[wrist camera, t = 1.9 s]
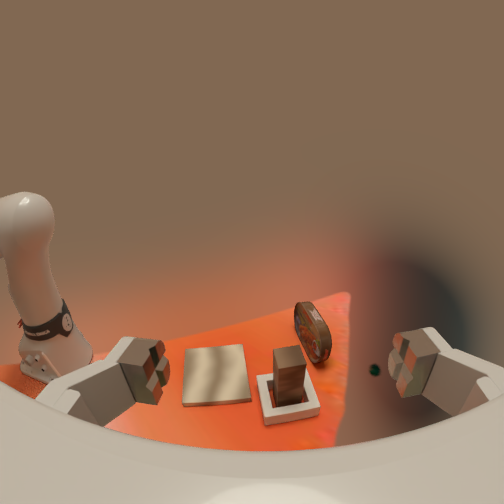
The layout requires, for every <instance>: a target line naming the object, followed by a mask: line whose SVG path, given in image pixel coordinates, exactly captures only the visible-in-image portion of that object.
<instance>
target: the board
mask: <svg viewBox="0 0 504 504" xmlns="http://www.w3.org/2000/svg"><path fill="white" fill-rule="evenodd" d="M250 401H251V395H250V388H249V382H248V376H247V370H246V363H245V357H244V351H243V344H238V345H228V346H218V347H207V348H194V349H185V363H184V378H183V395H182V404H183V406H206V405H220V404H232V403H241V402H250Z"/></svg>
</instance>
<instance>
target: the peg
mask: <svg viewBox="0 0 504 504" xmlns="http://www.w3.org/2000/svg"><path fill="white" fill-rule="evenodd" d="M305 372H306V361H305V358H304V356H303V353H302V351H301V348H300V345H296V346H290V347H284V348H277V349H273V396H274V400H275V404H276V408H278V407H284V406H289V405H295V404H300V403H301V400H302V393H303V386H304V379H305Z"/></svg>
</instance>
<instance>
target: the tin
mask: <svg viewBox="0 0 504 504" xmlns="http://www.w3.org/2000/svg"><path fill="white" fill-rule="evenodd" d="M294 322H295V328H296V332H297V335H298V337H299V339H300V341H301V343H302V345H303V347H304V349H305V351H306V353H307V355H308V357H309V359H310V360H311V361H312V362H313V363H317V362H321V361H325V360H327V359H328V358H329V356H330V352H331V348H332V339H331V334H330V331H329V328H328V326H327V325H326V323H325V321H324V320H323V318H322V317H321V315H320V314H319V312H318V311H317V309H316V308H315V306H314V305H313V304H312V303H311V302H298V303H297V304H296V306H295V310H294Z"/></svg>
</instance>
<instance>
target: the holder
mask: <svg viewBox="0 0 504 504" xmlns="http://www.w3.org/2000/svg"><path fill="white" fill-rule="evenodd" d="M256 377H257V387H258V393H259V398H260V403H261V408H262V413H263V418H264V424H265V425H272V424H278V423H284V422H289V421H294V420H299V419H304V418H309V417H313V416H318V414H319V411H320V407H321V406H320V404H319V401H318V398H317V395H316V393H315V390H314V387H313V385H312V382H311V379H310V377H309V374H308V371H307V369H306V372H305V379H304V386H303V393H302V396H303V399H304V402H305V403H300V404H295V405H289V406H284V407H278V408H272V404H271V399H270V395H269V391H268V390H273V373H272V374H265V375H258V376H256Z"/></svg>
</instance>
